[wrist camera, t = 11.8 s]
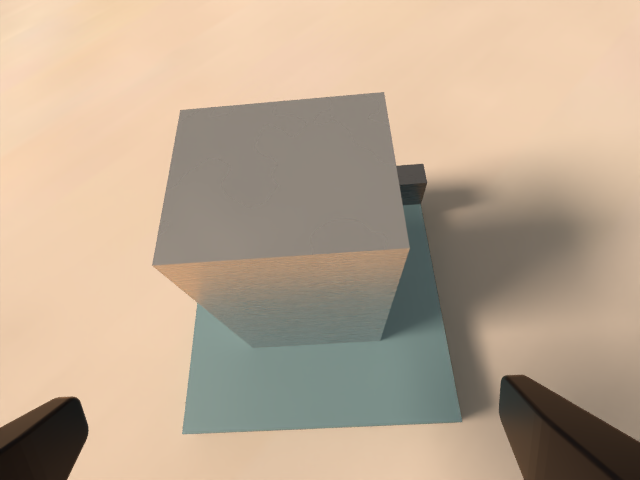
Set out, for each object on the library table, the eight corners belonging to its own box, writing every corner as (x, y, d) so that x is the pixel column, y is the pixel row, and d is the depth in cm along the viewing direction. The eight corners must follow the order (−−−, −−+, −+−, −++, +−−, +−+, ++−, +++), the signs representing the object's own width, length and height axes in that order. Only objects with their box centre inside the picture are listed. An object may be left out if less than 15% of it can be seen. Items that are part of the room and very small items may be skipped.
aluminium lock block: (380, 341, 17) (409, 248, 8) (252, 347, 18) (152, 265, 9) (368, 240, 20) (383, 84, 11) (257, 247, 20) (181, 103, 11)
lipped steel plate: (453, 422, 17) (476, 421, 14) (195, 433, 17) (161, 435, 14) (413, 200, 22) (423, 164, 19) (217, 215, 23) (196, 181, 20)
